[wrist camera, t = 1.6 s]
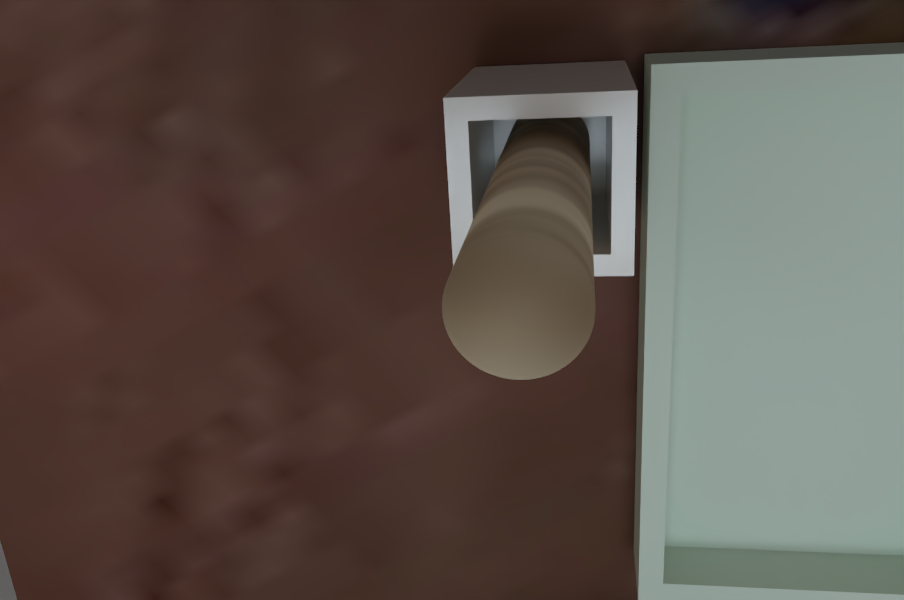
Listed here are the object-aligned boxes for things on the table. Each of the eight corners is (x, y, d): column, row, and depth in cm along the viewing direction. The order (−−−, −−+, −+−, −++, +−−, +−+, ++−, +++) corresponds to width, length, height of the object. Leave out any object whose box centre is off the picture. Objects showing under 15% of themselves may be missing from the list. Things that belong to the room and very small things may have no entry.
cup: (474, 67, 33) (443, 97, 25) (625, 60, 32) (637, 90, 24) (481, 209, 35) (453, 276, 27) (623, 207, 34) (633, 275, 26)
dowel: (508, 103, 32) (436, 238, 17) (589, 100, 32) (594, 236, 16) (510, 182, 33) (446, 378, 18) (589, 180, 33) (595, 380, 17)
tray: (644, 53, 32) (651, 64, 28) (1030, 36, 30) (1084, 45, 26) (633, 549, 40) (638, 601, 36) (937, 561, 38) (971, 618, 34)
